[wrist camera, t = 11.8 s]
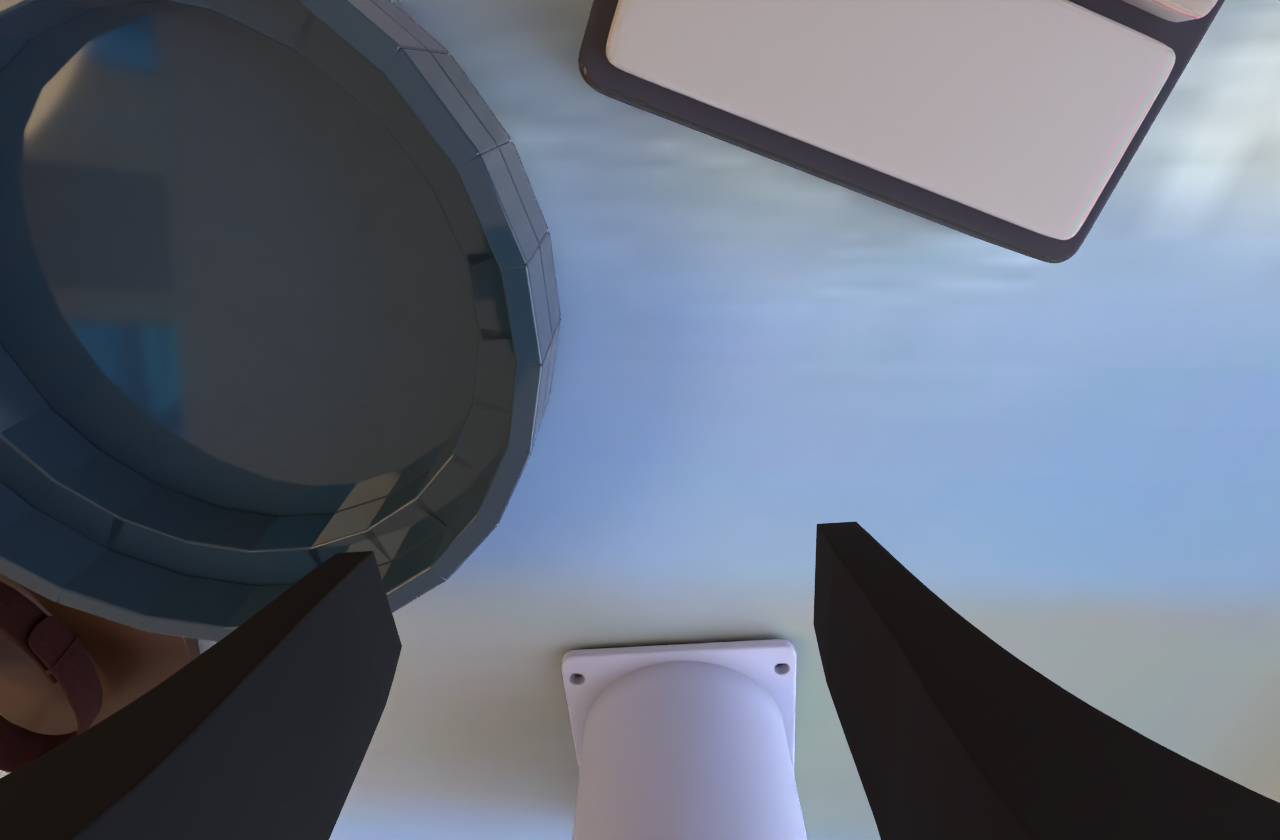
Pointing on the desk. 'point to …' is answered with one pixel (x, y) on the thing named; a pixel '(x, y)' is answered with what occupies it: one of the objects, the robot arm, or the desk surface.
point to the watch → (59, 662)
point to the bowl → (255, 305)
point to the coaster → (117, 654)
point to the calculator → (916, 96)
